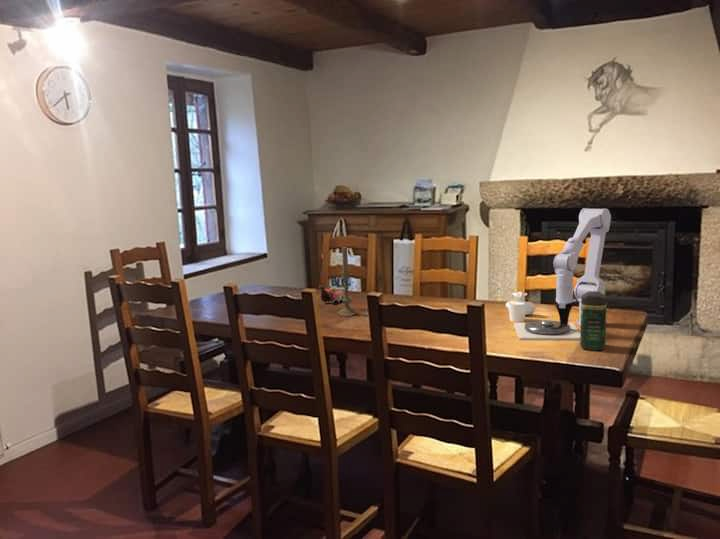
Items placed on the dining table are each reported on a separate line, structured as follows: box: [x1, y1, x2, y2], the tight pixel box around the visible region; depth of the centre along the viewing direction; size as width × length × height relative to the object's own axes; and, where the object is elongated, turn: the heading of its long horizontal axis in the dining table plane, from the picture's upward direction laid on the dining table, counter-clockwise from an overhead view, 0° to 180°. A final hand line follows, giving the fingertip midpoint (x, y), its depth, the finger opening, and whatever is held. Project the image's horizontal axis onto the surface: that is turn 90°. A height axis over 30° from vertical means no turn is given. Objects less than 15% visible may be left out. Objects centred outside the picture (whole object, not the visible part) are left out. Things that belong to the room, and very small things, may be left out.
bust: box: [505, 290, 536, 316], centre depth 255 cm, size 12×8×11 cm
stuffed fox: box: [319, 285, 345, 303], centre depth 297 cm, size 8×11×12 cm
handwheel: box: [525, 319, 570, 334], centre depth 227 cm, size 16×16×4 cm
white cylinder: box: [507, 301, 526, 323], centre depth 247 cm, size 7×7×7 cm
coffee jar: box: [579, 291, 607, 351], centre depth 205 cm, size 10×8×19 cm
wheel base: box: [513, 322, 581, 341], centre depth 228 cm, size 22×22×1 cm
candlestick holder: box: [337, 246, 357, 315], centre depth 268 cm, size 9×9×30 cm
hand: (564, 324), depth 225 cm, fingers closed
